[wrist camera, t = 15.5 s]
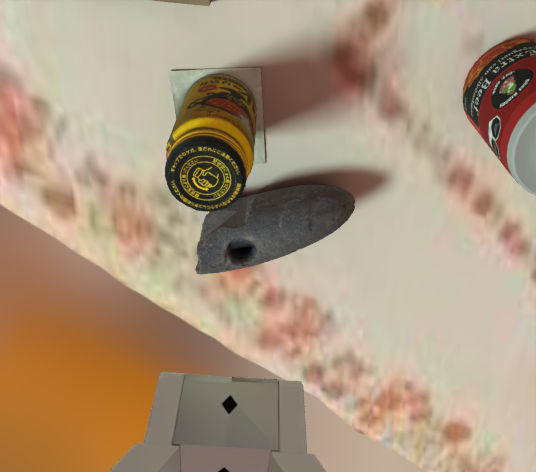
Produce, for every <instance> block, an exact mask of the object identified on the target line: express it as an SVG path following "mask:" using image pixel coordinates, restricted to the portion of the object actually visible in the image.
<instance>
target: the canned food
mask: <svg viewBox="0 0 536 472" xmlns="http://www.w3.org/2000/svg"><path fill="white" fill-rule="evenodd" d="M463 105H464V111H465V113H466V115H467V118H468V119H469V121H470V122H471V123H472V125H473V126H474V127H475V129H476V130H477V131H478V133H479V134H480V135H481V137H482V138H483V139H484V141H485V142H486V143H487V144H488V146H489V147H490V148H491V150H492V151H493V152H494V154H495V155H496V156H497V158H498V159H499V160H500V161H501V163H502V164H503V165H504V167H505V168H506V169H507V171H508V172H509V173H510V175H511V176H512V177H513V178H514V179H515V180H516V182H517V183H518V184H520V185H521V186H522V187H523V188H524V189H525V190H527V191H528V192H530V193H532V194H534V195H536V40H529V39H519V40H512V41H507V42H504V43H501V44H499V45H497V46H495V47H493V48H491V49H490V50H488V51H487V52H486V53H484V54H483V55H482V56H481V57H480V58H479V59H478V60H477V61H476V62H475V64H474V65H473V67H472V68H471V70H470V71H469V73H468V76H467V78H466V80H465V84H464V88H463Z"/></svg>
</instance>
